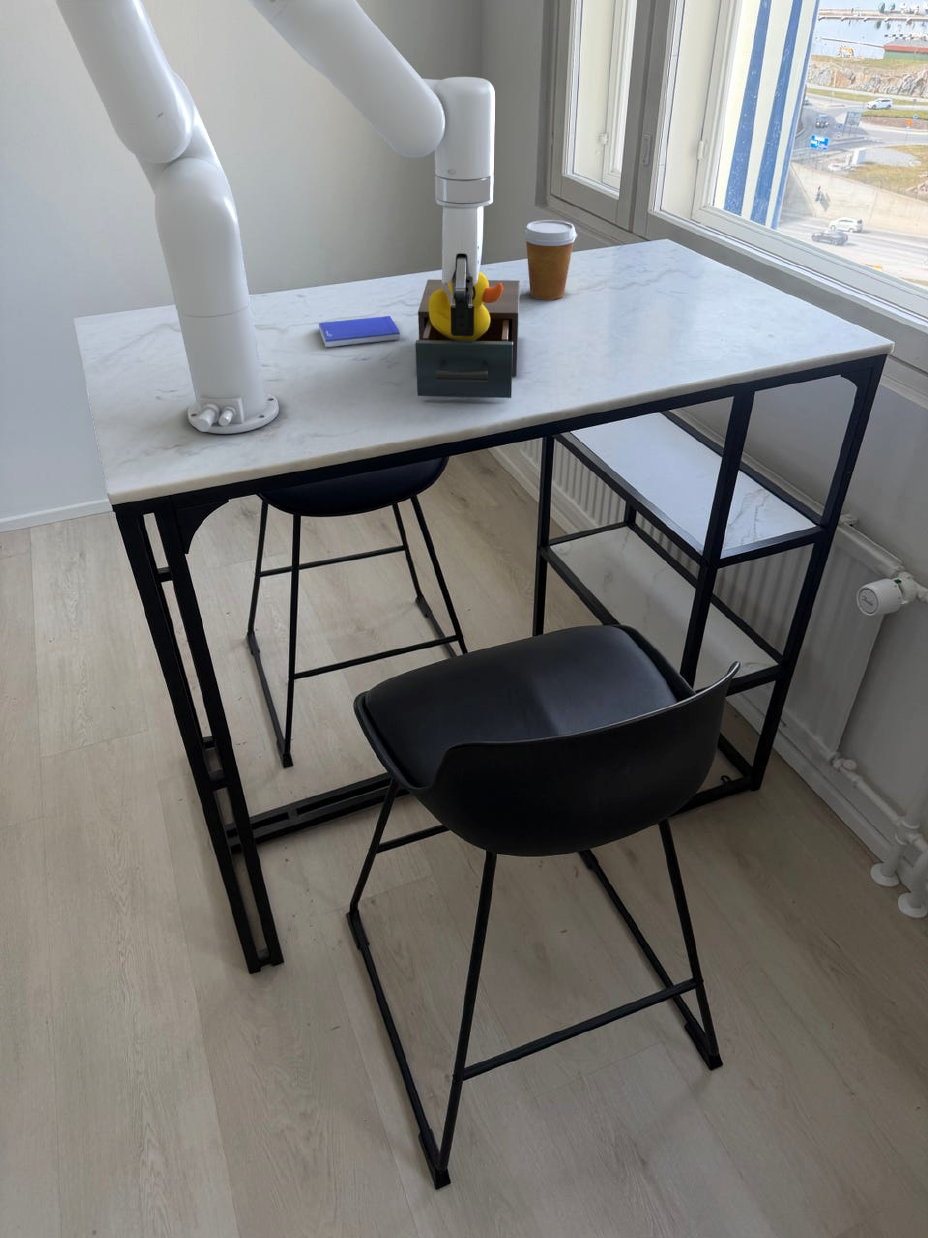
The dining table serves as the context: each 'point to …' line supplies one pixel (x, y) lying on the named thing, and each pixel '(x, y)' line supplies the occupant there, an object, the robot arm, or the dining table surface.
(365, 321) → the hard drive
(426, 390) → the drawer
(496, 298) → the duckling
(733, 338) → the dining table surface
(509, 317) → the cabinet
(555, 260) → the disposable coffee cup
